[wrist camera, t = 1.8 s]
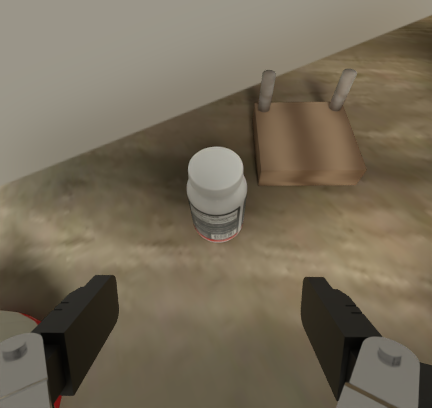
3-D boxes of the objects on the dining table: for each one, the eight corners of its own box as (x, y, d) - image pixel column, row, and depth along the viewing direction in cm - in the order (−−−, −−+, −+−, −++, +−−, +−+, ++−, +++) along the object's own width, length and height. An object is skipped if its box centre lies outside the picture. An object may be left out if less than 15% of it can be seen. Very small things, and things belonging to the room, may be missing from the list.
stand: (333, 118, 39) (357, 66, 32) (355, 185, 33) (390, 137, 26) (252, 120, 39) (258, 68, 32) (258, 185, 33) (267, 138, 26)
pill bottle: (210, 193, 33) (205, 133, 24) (251, 213, 31) (261, 156, 23) (184, 229, 30) (168, 176, 22) (227, 253, 28) (229, 205, 20)
